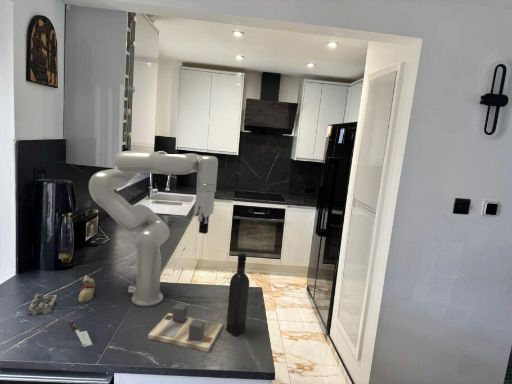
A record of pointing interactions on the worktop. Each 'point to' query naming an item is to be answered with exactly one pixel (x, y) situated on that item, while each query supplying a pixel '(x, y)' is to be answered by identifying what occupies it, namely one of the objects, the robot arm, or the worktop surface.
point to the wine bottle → (238, 299)
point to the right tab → (196, 329)
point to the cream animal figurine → (87, 289)
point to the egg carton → (42, 304)
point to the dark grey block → (179, 312)
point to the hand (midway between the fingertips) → (203, 232)
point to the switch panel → (185, 333)
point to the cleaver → (81, 335)
